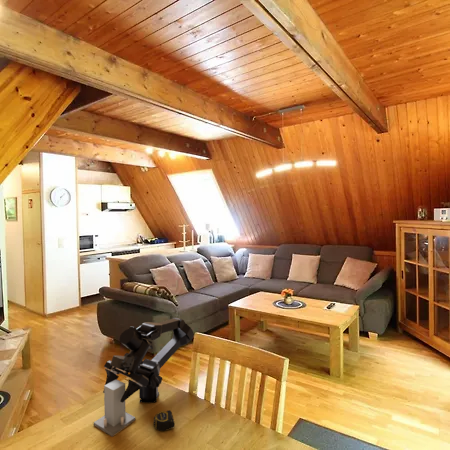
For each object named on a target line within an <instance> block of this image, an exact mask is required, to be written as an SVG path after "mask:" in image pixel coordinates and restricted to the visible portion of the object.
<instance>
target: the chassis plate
mask: <svg viewBox="0 0 450 450" xmlns="http://www.w3.org/2000/svg"><path fill="white" fill-rule="evenodd" d="M125 418H126V419H124V417H123V416H121V422H120V423H118V424H117V425H115V426H112V425H110V424H109V423H107V418H105V414H104V415H102V416H101V417H100V418H98V419H96V420H94V422H93V426H94V427H95V428H98V429H99V430H101V431H103V432H104V433H105V434H107V435H109V436H110V437H114V436H116V435H117V434H118V433H119V432H121V431H122V430H124V429H125V428H126V427H128V426H129V425H131V424H132V423H133V422H134V421H136V417H135V416H134V415H132V414H130V413H128V412H126V411H125Z"/></svg>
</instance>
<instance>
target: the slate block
mask: <svg viewBox="0 0 450 450" xmlns="http://www.w3.org/2000/svg"><path fill="white" fill-rule="evenodd" d="M125 390H126V383H125V382H123V381H121V380H118V379H115V380H114V381H112V382H110V383H108V384H106V385H105V384H104V386H103V391H104V393H103V395H104V400H103V401H104V402H103V403H104V406H103V407H104V415H105V418H107V423H109V424H110V425H112V426H115V425H117V424H118V423H120V422H121V416H123V417H124V419H126V418H125V412H126V400H125V401H124V402H123V403H122V402H120V401H121V398H122V396H123V394H124V392H125Z"/></svg>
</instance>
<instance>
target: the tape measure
mask: <svg viewBox="0 0 450 450" xmlns="http://www.w3.org/2000/svg"><path fill="white" fill-rule="evenodd" d="M175 423H176V422H175V421H174V418H173V412H172V410H167V411H165V410H164V411H163V410H162V411H159V412H158V413H156V414H155V416H154V418H153V426H154V428H155V430H156V431H160V432H165V431H168V430H171V429H174V427H175Z"/></svg>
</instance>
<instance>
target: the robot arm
mask: <svg viewBox="0 0 450 450" xmlns="http://www.w3.org/2000/svg"><path fill="white" fill-rule="evenodd" d="M171 331H172V338H171V339H170V340H169V341H168V342H167V343H166V344H165V345H164V346H163V347H162V349H160V350H159V351H158V352H157V354H155V356H154V357H153V358H152V359H147V358H145V356H146V355H147V352H148V351H149V349H151V350H153V349H154V346H153V341H154V340H157V339H159V338H160V337H161V336H162V335H163V334H164V333H168V332H171ZM194 333H195V332H194V331H193V329H192V327H191V326H189V324H187V323H186V321H185V320H184V319H182V318H178V317H172V318H169V319H167V320H162V321H160V322H159V321H158V322H149V321H147V322H145V321H144V322H143V323H141V325H139V326H138V327H137V328H136V327H135V326H129V328H126V329H125V330H124V331H123V332H121V334H120V335H119V343H121V344H122V345H123V346H124V347H126V348H127V349H128V350H130V351H129V352H126V353H124V355H115V354H114V355H112V359H111V360H108V361H106V362H105V364H104V366H103V367H104V371H105V372H106V380H105V384H104V386H105V385H106V384H108V383H110V382H112V381H114V380H115V379H117V380H118V379H119V377H120V376H119V375H120V374H121V375H123V376H125V377H127V378H129V379H128V384H127V386H126V388H125V392H124V394H123V396H122V398H121V401H120V402H122V403H123V402H124V401H125V402H126V400H128V399H129V398H130V397H131V396H132V395H134V394H135V393H136V392H139V393H138V396H139V403H142V404H143V403H145V404H146V403H148V404H150V403H151V404H152V403H153V404H154V403H157V401H158V397H159V395H160V392H159V387H160V385H161V384H162V383H163V377H162V376H160V372H161V368H163V366H164V365H165V364H166V363H167V362H168V360H170V358H172V356H173V355H174V354H175V353H176V352H177V350H179V348H180V347H182V346H185V345H187V344H188V343H190V342H191V341H192V340H193V338H194V336H195V334H194ZM144 358H145V359H144ZM102 393H103V394H104V390H103V392H102Z"/></svg>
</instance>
